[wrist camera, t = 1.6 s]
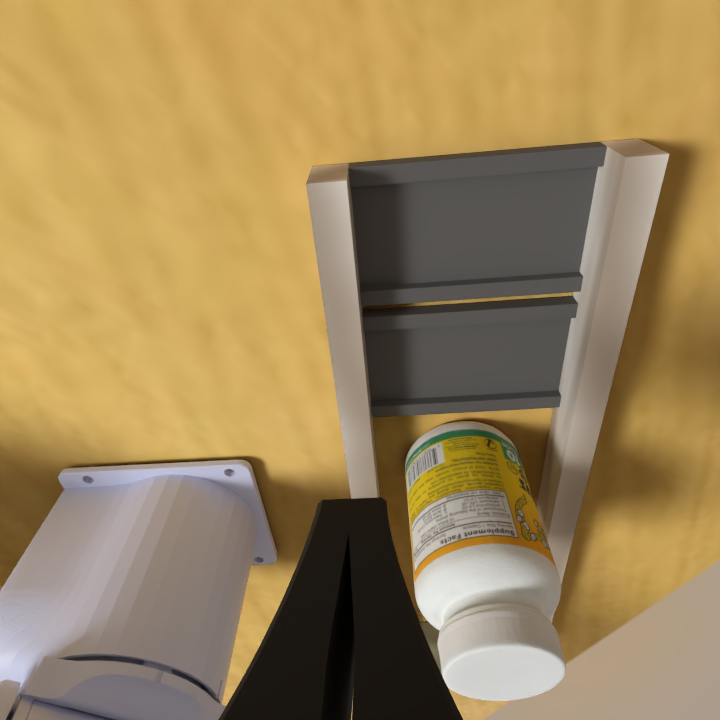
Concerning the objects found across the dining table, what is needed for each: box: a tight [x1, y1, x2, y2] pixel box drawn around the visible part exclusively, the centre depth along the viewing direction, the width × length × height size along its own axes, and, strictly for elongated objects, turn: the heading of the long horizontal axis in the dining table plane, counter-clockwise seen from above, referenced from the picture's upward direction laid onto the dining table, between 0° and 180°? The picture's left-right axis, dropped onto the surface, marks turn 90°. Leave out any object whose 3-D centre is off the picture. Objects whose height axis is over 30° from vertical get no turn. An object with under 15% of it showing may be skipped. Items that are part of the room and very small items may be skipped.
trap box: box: [306, 139, 669, 674], centre depth 24 cm, size 10×30×3 cm, turn 5°
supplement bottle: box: [405, 421, 566, 701], centre depth 20 cm, size 5×5×10 cm
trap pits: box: [348, 142, 607, 417], centre depth 19 cm, size 8×10×1 cm
